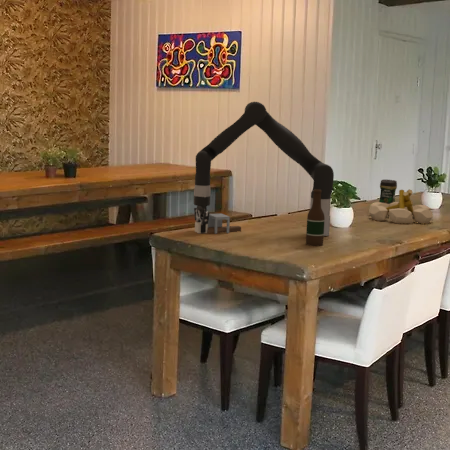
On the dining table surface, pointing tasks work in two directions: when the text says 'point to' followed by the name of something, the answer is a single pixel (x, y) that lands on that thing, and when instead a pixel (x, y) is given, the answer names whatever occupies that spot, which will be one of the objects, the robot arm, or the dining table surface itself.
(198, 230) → the block
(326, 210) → the robot arm
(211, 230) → the bar
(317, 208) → the beer bottle
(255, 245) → the dining table surface
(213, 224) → the tunnel
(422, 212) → the campfire
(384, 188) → the coffee jar
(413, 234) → the dining table surface
